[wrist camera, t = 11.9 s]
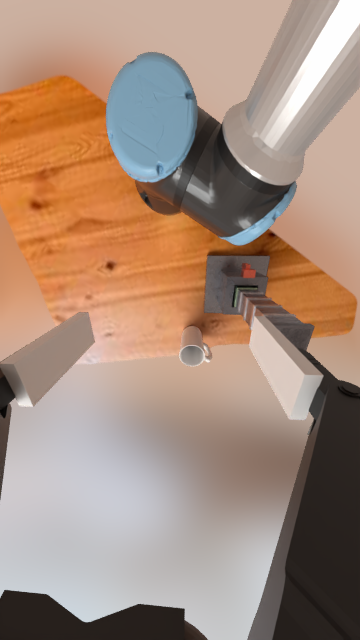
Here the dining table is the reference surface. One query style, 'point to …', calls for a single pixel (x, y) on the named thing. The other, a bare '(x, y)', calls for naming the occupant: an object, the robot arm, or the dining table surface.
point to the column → (271, 315)
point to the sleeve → (232, 280)
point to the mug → (193, 347)
